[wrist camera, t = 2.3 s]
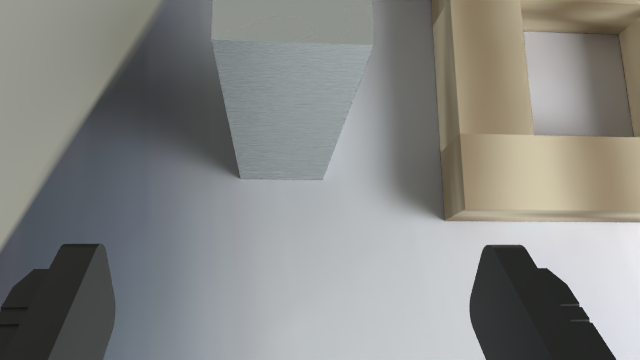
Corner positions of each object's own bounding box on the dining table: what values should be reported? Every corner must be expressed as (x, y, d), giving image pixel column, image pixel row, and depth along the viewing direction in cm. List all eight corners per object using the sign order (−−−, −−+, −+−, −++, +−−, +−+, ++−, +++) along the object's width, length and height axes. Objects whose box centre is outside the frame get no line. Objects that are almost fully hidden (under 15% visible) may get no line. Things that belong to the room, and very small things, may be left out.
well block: (668, -19, 32) (708, -53, 29) (711, 222, 29) (761, 211, 26) (429, -30, 31) (445, -67, 28) (444, 220, 27) (465, 209, 25)
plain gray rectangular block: (322, 103, 28) (369, -93, 15) (322, 179, 27) (373, 45, 14) (242, 101, 28) (216, -101, 15) (240, 178, 27) (211, 39, 14)
